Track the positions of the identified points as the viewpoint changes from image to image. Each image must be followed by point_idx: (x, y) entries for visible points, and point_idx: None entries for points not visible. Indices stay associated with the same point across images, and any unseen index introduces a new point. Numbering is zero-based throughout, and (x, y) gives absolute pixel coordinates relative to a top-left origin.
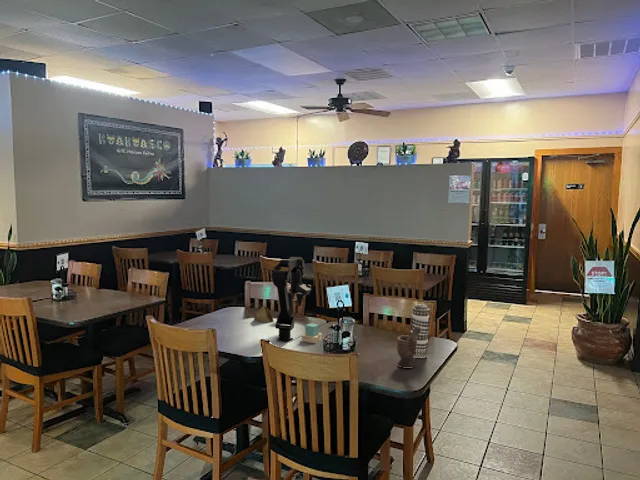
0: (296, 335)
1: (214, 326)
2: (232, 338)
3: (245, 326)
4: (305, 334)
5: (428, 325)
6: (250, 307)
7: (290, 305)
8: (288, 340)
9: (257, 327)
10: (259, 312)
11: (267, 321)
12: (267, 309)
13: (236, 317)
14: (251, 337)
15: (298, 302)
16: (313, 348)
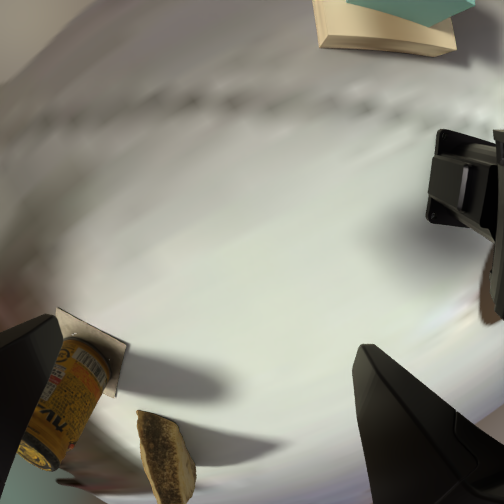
0: (333, 145)
1: (351, 497)
2: (481, 400)
3: (302, 458)
4: (429, 25)
5: None
6: (83, 485)
7: (431, 408)
8: (486, 143)
9: (290, 427)
10: (190, 489)
11: (177, 429)
12: (162, 486)
13: (206, 500)
14: (463, 361)
15: (31, 386)
16: None
